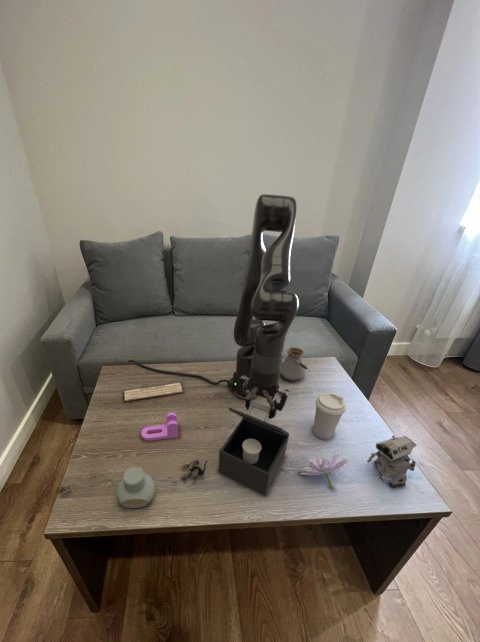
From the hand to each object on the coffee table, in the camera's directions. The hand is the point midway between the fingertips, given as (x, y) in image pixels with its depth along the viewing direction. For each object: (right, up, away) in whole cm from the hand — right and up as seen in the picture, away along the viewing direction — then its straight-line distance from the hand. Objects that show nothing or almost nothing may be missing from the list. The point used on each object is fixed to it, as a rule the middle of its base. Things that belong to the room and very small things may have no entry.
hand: (259, 412), depth 91 cm
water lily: (+21, -21, +8) cm, 30 cm away
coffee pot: (+24, +4, +46) cm, 52 cm away
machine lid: (+1, -4, +4) cm, 5 cm away
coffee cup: (+27, -11, +22) cm, 37 cm away
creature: (-19, -21, +9) cm, 30 cm away
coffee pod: (-2, -15, +6) cm, 16 cm away
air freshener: (-36, -25, +3) cm, 44 cm away
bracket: (-31, -12, +23) cm, 40 cm away
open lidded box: (0, -19, +11) cm, 22 cm away
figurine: (+39, -21, +7) cm, 45 cm away
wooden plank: (-36, 0, +42) cm, 55 cm away
